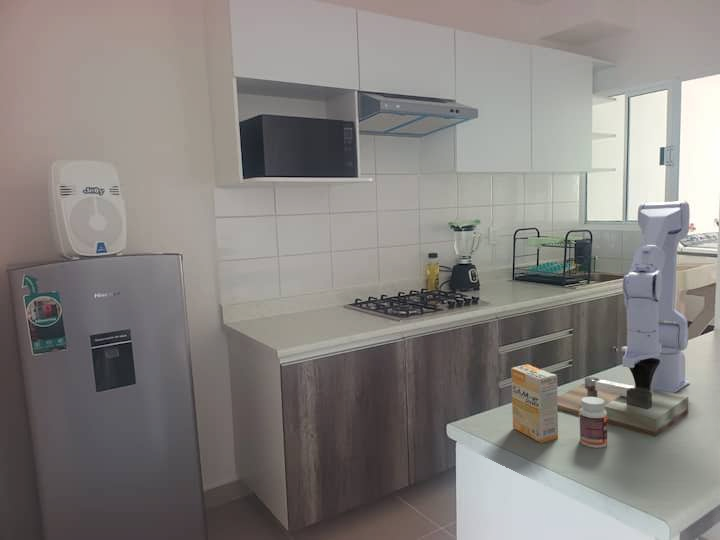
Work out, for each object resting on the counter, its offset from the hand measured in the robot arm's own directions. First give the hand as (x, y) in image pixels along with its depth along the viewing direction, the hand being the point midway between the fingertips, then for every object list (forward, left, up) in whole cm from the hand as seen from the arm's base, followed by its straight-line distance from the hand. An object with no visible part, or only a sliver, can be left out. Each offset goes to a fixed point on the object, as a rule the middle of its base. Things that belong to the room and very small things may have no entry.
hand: (642, 392), depth 108 cm
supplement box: (+23, -11, -5) cm, 26 cm away
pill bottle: (+19, -1, -5) cm, 20 cm away
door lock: (+1, -5, -5) cm, 7 cm away
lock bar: (+2, -5, -1) cm, 5 cm away
